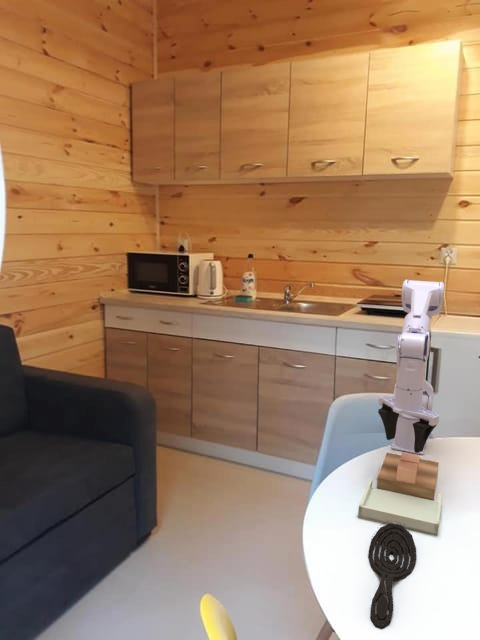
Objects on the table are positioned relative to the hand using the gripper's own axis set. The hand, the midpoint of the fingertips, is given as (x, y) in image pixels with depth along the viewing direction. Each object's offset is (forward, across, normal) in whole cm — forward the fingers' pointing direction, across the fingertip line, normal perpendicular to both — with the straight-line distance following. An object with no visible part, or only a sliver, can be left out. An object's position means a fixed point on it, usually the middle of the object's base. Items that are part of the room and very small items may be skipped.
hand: (404, 444), depth 121 cm
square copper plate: (+10, 0, +3) cm, 10 cm away
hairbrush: (+10, +19, -27) cm, 35 cm away
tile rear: (+7, 0, +3) cm, 8 cm away
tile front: (+7, +2, -1) cm, 7 cm away
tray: (+10, +7, -8) cm, 15 cm away
